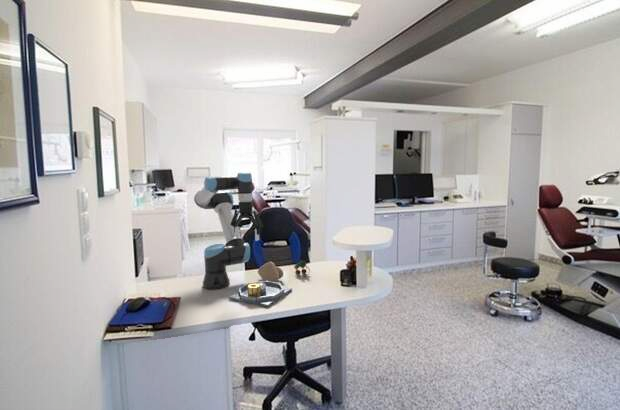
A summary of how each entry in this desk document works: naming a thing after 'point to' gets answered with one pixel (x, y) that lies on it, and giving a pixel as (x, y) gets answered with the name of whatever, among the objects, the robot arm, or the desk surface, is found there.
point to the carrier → (262, 294)
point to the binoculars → (302, 265)
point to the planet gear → (254, 290)
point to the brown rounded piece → (270, 272)
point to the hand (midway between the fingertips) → (247, 239)
